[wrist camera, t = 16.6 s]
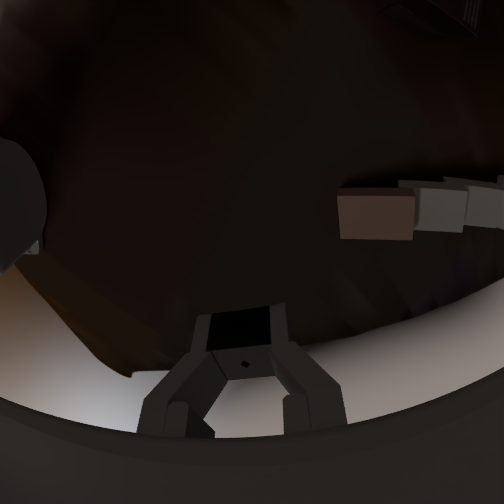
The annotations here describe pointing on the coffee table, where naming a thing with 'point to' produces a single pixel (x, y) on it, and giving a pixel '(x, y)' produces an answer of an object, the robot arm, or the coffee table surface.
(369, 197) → the domino
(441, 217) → the domino
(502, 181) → the domino
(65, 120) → the coffee table surface
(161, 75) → the coffee table surface
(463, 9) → the box
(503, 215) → the domino
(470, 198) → the domino
